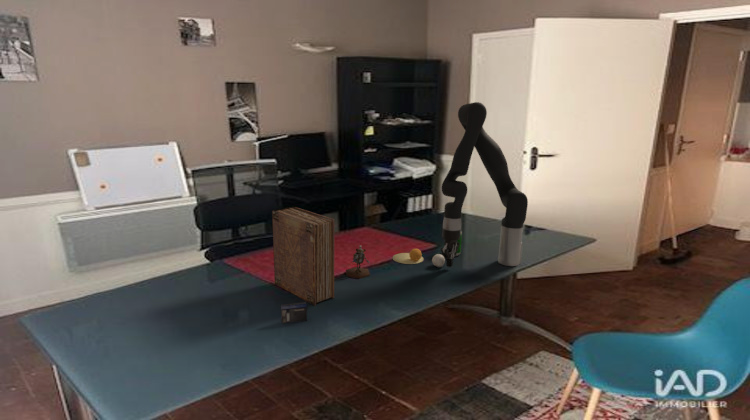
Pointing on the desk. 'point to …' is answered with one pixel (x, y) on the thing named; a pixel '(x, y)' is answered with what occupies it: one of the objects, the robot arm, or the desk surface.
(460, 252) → the soda can
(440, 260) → the cue ball
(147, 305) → the desk surface
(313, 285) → the book
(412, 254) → the orange ball
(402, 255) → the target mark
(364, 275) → the robot figurine
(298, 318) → the mini dv tape
